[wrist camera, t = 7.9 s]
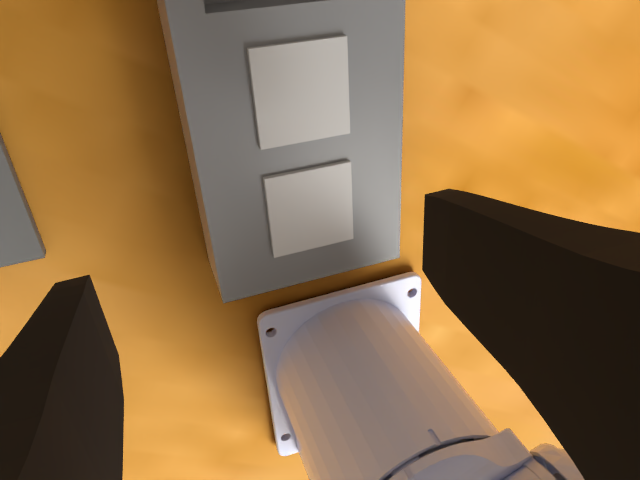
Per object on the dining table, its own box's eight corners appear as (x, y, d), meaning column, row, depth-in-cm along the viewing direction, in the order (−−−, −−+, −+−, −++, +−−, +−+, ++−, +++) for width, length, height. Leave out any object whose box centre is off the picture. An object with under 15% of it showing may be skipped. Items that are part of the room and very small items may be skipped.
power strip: (367, 223, 23) (404, 262, 20) (208, 261, 21) (225, 309, 19) (359, -375, 14) (424, -453, 11) (75, -401, 12) (68, -501, 9)
